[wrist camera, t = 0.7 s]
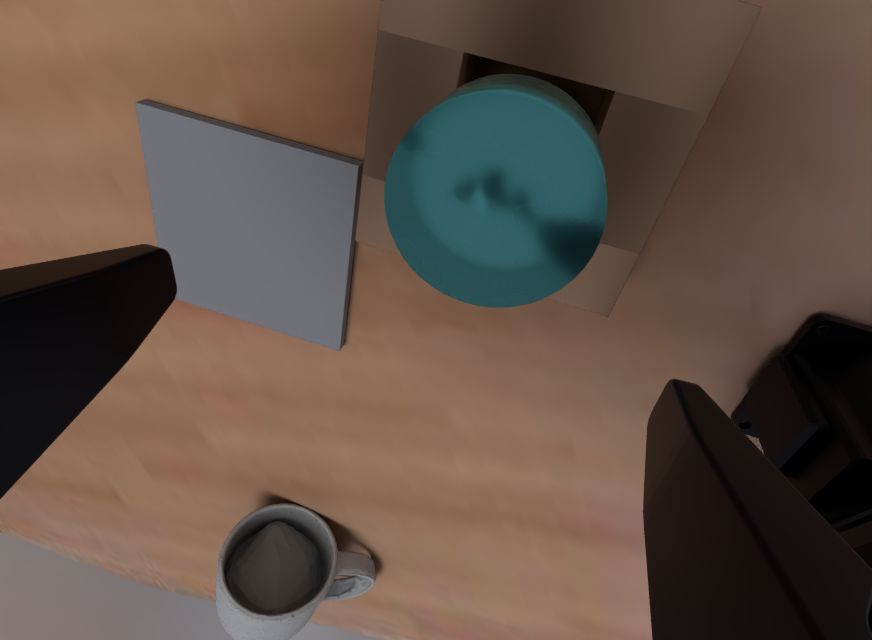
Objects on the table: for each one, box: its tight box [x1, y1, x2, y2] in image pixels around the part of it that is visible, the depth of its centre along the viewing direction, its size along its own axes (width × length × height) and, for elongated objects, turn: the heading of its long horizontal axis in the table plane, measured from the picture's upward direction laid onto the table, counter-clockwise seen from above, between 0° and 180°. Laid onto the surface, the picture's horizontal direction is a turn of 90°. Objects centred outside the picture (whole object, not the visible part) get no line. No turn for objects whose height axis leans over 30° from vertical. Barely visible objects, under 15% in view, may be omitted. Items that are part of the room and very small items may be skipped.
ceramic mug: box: [216, 503, 376, 640], centre depth 36 cm, size 11×8×8 cm
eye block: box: [355, 0, 762, 317], centre depth 17 cm, size 10×10×3 cm
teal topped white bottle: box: [384, 74, 608, 307], centre depth 15 cm, size 5×5×8 cm
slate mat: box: [135, 100, 364, 351], centre depth 24 cm, size 10×10×1 cm
